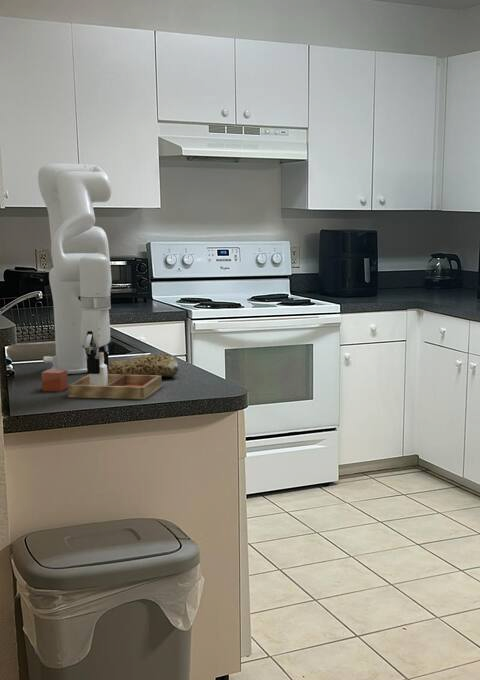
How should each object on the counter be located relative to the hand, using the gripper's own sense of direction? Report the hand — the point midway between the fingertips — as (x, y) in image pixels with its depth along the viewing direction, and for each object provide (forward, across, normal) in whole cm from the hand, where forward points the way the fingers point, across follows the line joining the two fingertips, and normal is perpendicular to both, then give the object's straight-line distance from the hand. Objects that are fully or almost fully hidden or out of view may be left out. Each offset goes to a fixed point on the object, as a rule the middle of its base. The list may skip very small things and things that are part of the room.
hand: (98, 370), depth 237 cm
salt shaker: (+5, 0, 0) cm, 5 cm away
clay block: (+6, -1, -12) cm, 14 cm away
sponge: (+6, -17, +7) cm, 19 cm away
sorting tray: (+6, 0, +5) cm, 7 cm away
